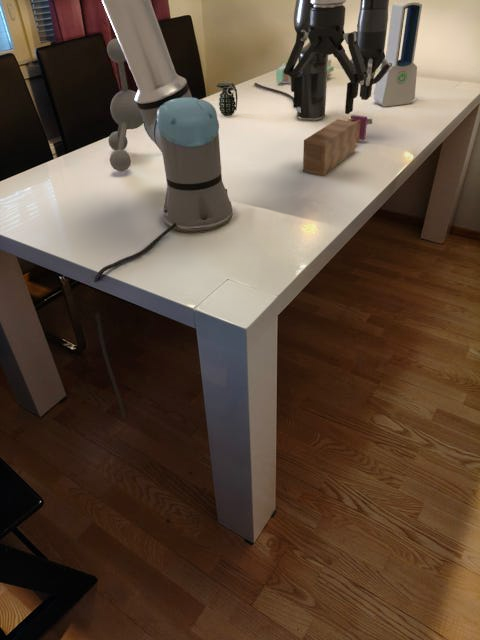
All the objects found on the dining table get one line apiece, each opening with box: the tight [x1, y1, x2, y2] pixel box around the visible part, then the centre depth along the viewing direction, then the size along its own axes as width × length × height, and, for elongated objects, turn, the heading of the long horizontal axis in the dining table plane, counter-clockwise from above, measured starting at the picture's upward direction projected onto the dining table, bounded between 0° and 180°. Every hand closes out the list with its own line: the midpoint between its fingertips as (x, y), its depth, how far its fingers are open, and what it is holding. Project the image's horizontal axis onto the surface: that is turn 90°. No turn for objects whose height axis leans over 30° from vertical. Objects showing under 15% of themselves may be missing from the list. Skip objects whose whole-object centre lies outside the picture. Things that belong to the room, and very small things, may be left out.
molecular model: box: [106, 37, 144, 172], centre depth 131 cm, size 24×22×30 cm
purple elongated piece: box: [347, 114, 373, 144], centre depth 136 cm, size 24×5×6 cm, turn 146°
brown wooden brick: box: [302, 118, 357, 176], centre depth 128 cm, size 19×6×8 cm, turn 146°
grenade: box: [215, 82, 238, 117], centre depth 166 cm, size 7×6×10 cm
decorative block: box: [275, 58, 335, 85], centre depth 205 cm, size 26×6×20 cm
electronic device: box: [373, 0, 423, 108], centre depth 163 cm, size 12×8×30 cm, turn 105°
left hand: (322, 109), depth 118 cm, fingers open, 13 cm apart
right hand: (364, 99), depth 137 cm, fingers closed
